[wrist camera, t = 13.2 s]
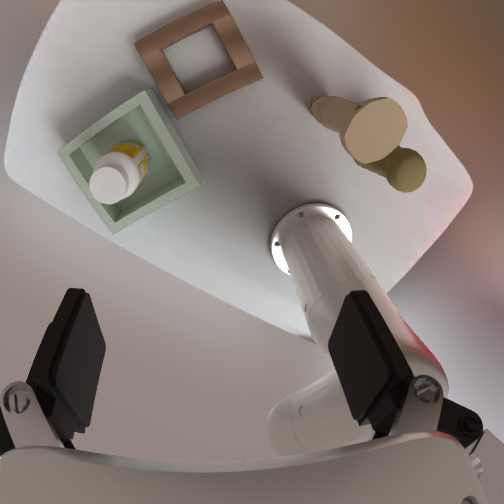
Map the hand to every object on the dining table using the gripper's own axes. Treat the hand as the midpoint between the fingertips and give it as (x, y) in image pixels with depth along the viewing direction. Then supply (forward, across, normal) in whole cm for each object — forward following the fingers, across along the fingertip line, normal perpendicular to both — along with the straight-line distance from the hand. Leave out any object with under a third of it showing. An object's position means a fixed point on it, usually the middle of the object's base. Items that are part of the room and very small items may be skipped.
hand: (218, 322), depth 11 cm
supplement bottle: (+30, +10, +2) cm, 31 cm away
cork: (+31, -22, -1) cm, 37 cm away
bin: (+30, +10, +2) cm, 32 cm away
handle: (+31, -13, -5) cm, 34 cm away
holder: (+30, +2, -10) cm, 32 cm away
